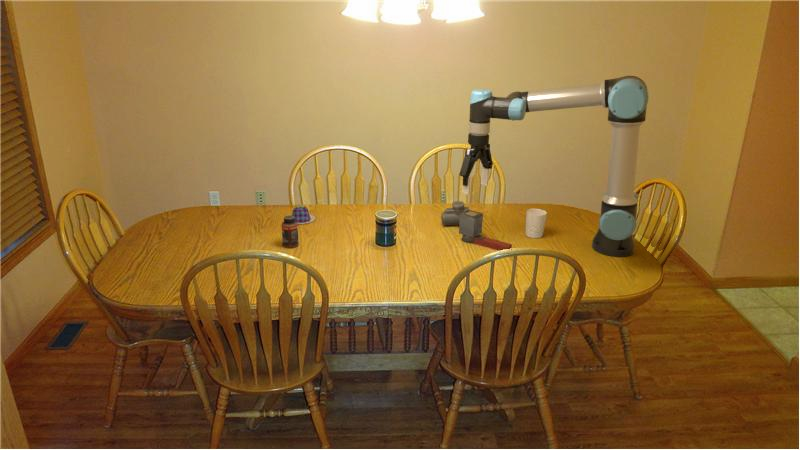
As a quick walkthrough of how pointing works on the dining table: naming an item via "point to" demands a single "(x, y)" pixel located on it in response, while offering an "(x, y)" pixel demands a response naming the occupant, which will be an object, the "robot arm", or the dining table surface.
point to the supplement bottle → (290, 232)
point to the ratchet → (486, 242)
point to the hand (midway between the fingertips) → (475, 189)
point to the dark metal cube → (470, 223)
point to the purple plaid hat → (302, 215)
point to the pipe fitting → (453, 213)
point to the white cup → (535, 222)
